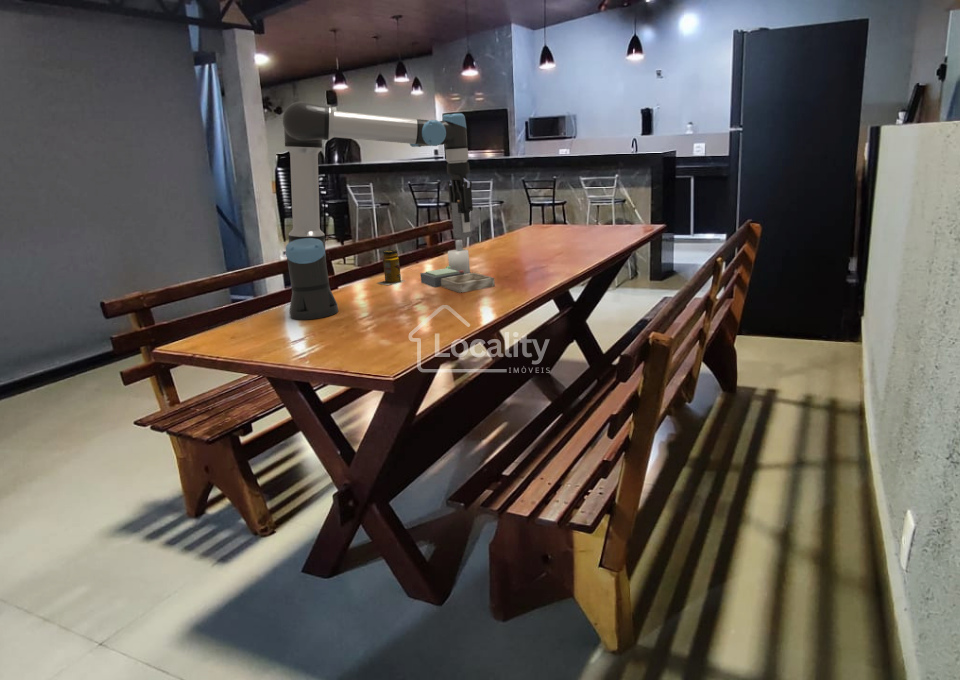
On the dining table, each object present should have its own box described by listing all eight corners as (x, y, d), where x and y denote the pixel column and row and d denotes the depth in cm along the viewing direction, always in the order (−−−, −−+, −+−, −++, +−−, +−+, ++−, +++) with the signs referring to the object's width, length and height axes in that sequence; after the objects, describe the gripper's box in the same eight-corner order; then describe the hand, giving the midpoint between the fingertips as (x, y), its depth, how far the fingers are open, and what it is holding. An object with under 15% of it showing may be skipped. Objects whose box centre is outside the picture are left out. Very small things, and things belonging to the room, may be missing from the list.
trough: (459, 292, 229) (458, 284, 228) (441, 286, 241) (440, 278, 240) (494, 286, 236) (494, 277, 235) (475, 280, 248) (474, 272, 247)
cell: (460, 238, 231) (457, 200, 227) (454, 237, 234) (451, 200, 231) (471, 236, 233) (468, 199, 229) (465, 235, 236) (462, 198, 233)
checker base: (435, 287, 241) (434, 275, 240) (421, 282, 251) (419, 271, 250) (465, 281, 246) (464, 270, 245) (449, 277, 257) (448, 266, 256)
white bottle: (455, 276, 257) (452, 243, 253) (446, 274, 263) (443, 241, 260) (473, 273, 260) (471, 240, 257) (464, 271, 267) (461, 238, 263)
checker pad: (436, 279, 242) (436, 275, 242) (425, 275, 250) (425, 271, 249) (458, 275, 246) (458, 271, 246) (447, 272, 254) (447, 268, 254)
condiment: (405, 281, 256) (402, 250, 253) (388, 285, 251) (384, 253, 247) (394, 279, 261) (391, 248, 258) (376, 283, 256) (372, 252, 252)
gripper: (480, 160, 221) (485, 231, 227) (455, 161, 235) (460, 228, 242) (460, 162, 217) (465, 234, 224) (436, 163, 232) (442, 230, 239)
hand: (463, 231), depth 233 cm, fingers closed on cell, 4 cm apart
